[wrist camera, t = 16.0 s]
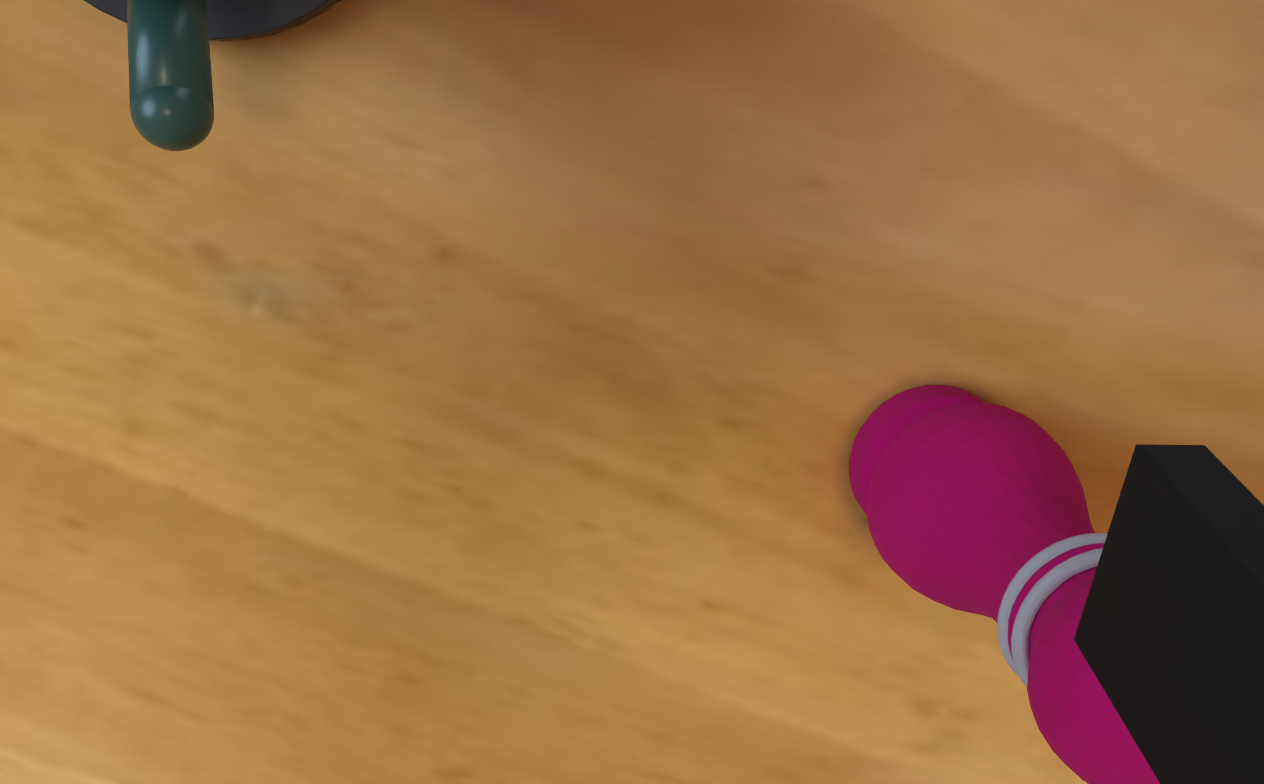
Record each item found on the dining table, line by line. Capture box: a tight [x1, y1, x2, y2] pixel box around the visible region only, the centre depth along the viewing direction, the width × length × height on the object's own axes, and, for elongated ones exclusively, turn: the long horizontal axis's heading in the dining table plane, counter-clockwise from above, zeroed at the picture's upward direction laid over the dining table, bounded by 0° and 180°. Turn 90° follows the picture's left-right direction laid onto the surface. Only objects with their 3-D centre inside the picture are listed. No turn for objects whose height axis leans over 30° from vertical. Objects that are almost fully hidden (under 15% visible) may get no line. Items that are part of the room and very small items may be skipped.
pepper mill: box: [849, 385, 1160, 784], centre depth 32 cm, size 7×7×20 cm
